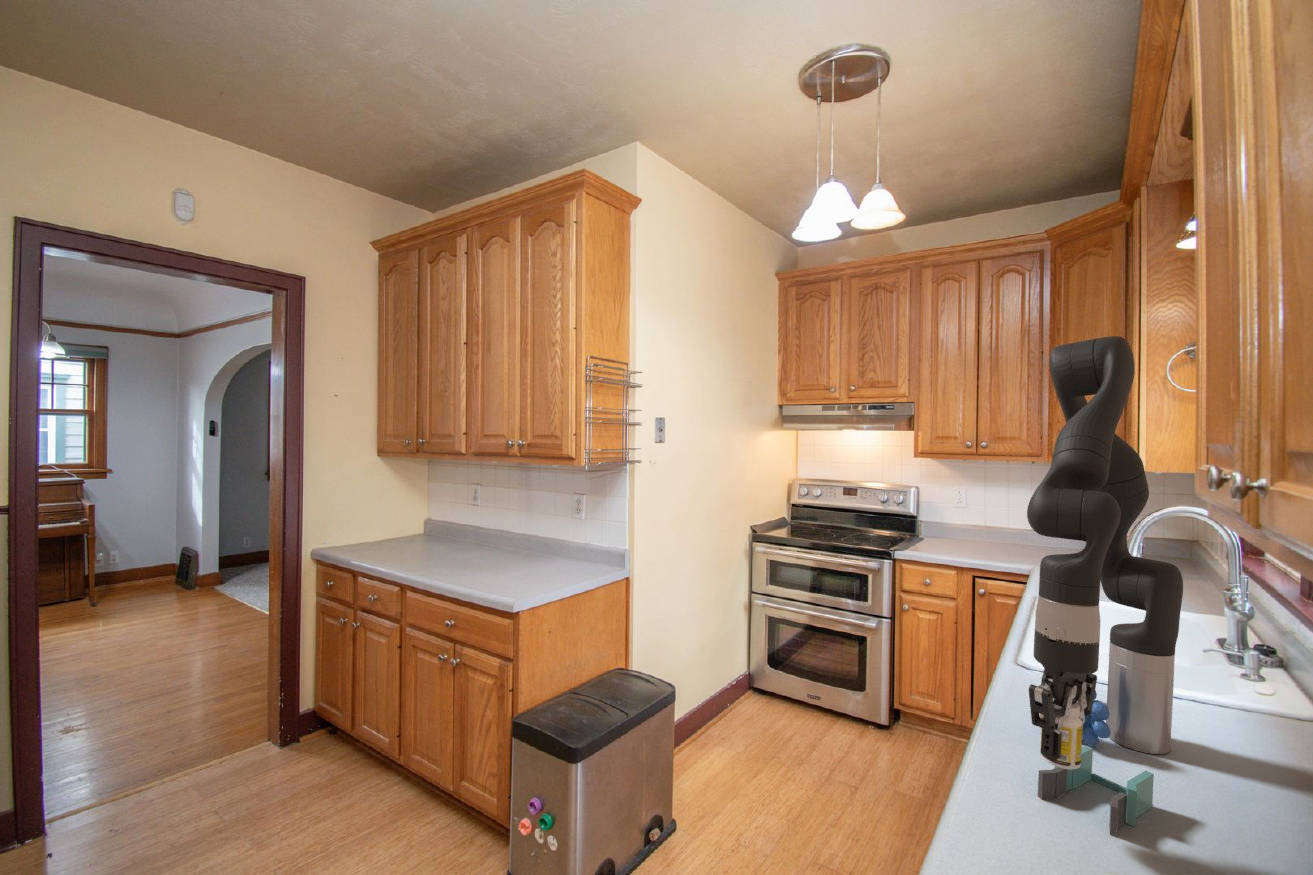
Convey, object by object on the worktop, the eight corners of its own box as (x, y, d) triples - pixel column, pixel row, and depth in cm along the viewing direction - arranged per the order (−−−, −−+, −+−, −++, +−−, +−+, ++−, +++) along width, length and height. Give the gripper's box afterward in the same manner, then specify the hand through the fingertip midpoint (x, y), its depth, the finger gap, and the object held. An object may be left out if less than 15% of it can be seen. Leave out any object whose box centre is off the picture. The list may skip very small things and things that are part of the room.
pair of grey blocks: (1054, 787, 94) (1055, 761, 94) (1133, 826, 85) (1134, 798, 85) (1036, 796, 91) (1037, 770, 91) (1115, 837, 83) (1117, 808, 82)
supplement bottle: (1064, 752, 87) (1067, 694, 87) (1089, 770, 82) (1092, 710, 82) (1032, 751, 87) (1035, 693, 87) (1054, 770, 82) (1057, 709, 82)
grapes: (1026, 729, 113) (1028, 665, 112) (1047, 722, 116) (1049, 660, 116) (1095, 761, 102) (1098, 690, 102) (1116, 752, 105) (1119, 684, 105)
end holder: (1080, 772, 99) (1081, 741, 99) (1160, 808, 89) (1162, 775, 89) (1052, 787, 94) (1053, 755, 94) (1134, 827, 85) (1135, 792, 85)
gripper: (1063, 617, 91) (1058, 728, 92) (1010, 630, 84) (1004, 751, 84) (1121, 632, 85) (1115, 752, 85) (1069, 648, 78) (1063, 779, 78)
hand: (1060, 751), depth 85 cm, fingers closed on supplement bottle, 4 cm apart
